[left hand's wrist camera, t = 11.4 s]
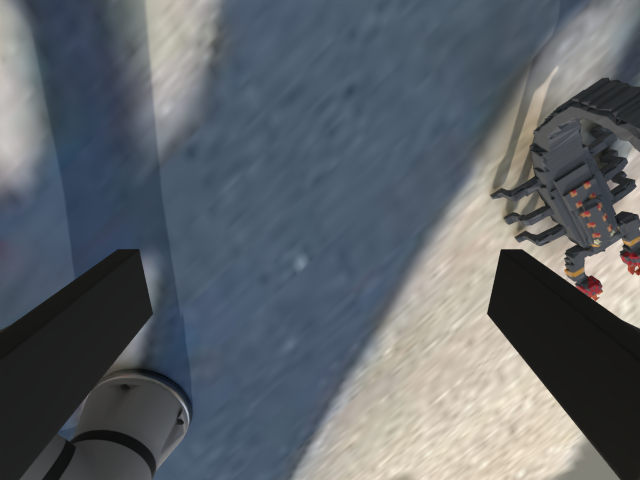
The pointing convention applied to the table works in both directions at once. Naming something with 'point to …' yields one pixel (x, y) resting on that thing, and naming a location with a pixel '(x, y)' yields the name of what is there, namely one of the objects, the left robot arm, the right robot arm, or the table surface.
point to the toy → (584, 179)
